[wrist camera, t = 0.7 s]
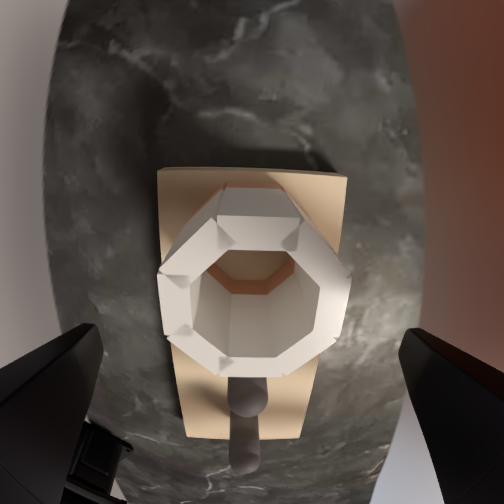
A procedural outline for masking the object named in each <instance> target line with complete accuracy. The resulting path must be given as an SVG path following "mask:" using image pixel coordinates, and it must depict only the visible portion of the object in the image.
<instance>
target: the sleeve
mask: <svg viewBox="0 0 504 504" xmlns="http://www.w3.org/2000/svg"><path fill="white" fill-rule="evenodd" d="M227 250H263V251H287V253H288V254H289V255H290V259H289V261H288V262H286V263H285V264H284V265H283V266H282V267H280V268H279V269H278V270H277V271H276V272H274V273H273V274H272V275H271V276H270V277H268V278H267V279H266V280H232V279H231V278H230V277H229V276H228V275H227V274H226V273H225V272H224V271H223V270H222V269H221V268H219V267H218V266H217V265H216V264H215V263H214V262H215V261H216V260H217V259H218V258H220V257H221V256H222V255H223V254H224V253H225V252H226V251H227ZM350 274H351V273H350V272H349V270H348V269H347V267H346V266H345V265H344V263H343V262H342V260H341V259H340V258H339V256H338V255H337V253H336V252H335V251H334V249H333V248H332V246H331V245H330V244H329V242H328V241H327V240H326V238H325V237H324V236H323V234H322V233H321V231H320V230H319V229H318V227H317V226H316V225H315V223H314V222H313V221H312V219H311V218H310V217H309V216H308V215H307V214H306V213H305V211H304V210H303V209H302V208H301V207H300V206H299V205H298V204H297V202H296V201H295V200H294V199H293V198H292V197H291V196H290V195H289V194H288V192H287V191H286V190H285V189H284V188H283V187H282V186H281V185H280V186H279V185H278V184H277V183H256V182H227V185H226V184H225V183H224V184H223V185H221V186H220V187H219V188H218V189H217V190H216V191H215V192H214V193H213V194H212V195H211V196H210V197H209V198H208V199H207V200H206V201H205V202H204V203H203V204H202V205H201V206H200V207H199V208H198V209H197V210H196V211H195V212H194V213H193V214H192V215H191V216H190V217H189V218H188V220H187V222H186V223H185V225H184V227H183V228H182V230H181V232H180V233H179V235H178V237H177V238H176V240H175V242H174V243H173V245H172V247H171V248H170V250H169V252H168V254H167V255H166V257H165V259H164V261H163V262H162V264H161V266H160V268H159V271H158V273H157V280H158V290H159V299H160V307H161V315H162V322H163V330H164V335H168V336H167V339H168V340H169V341H170V342H171V343H173V344H174V345H175V346H176V347H178V348H179V349H180V350H182V351H183V352H184V353H186V354H187V355H188V356H190V357H191V358H192V359H194V360H195V361H196V362H198V363H199V364H200V365H202V366H203V367H205V368H206V369H207V370H209V371H210V372H212V373H213V374H214V375H216V374H218V373H219V372H220V377H282V374H285V375H286V376H287V375H288V374H290V373H291V372H293V371H295V370H296V369H298V368H299V367H300V366H302V365H303V364H305V363H306V362H308V361H309V360H311V359H312V358H314V357H315V356H317V355H318V354H319V353H321V352H322V351H324V350H325V349H326V348H328V347H329V346H331V345H332V344H333V343H335V342H336V341H337V340H336V337H340V333H341V329H342V324H343V320H344V315H345V311H346V306H347V301H348V296H349V291H350V286H351V281H352V277H351V276H350Z"/></svg>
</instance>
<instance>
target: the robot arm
mask: <svg viewBox="0 0 504 504" xmlns="http://www.w3.org/2000/svg"><path fill="white" fill-rule="evenodd" d="M103 352H104V349H103V344H102V341H101V337H100V333H99V329H98V327H97V326H96V325H95V324H90V323H83V324H81V325H79V326H77V327H75V328H73V329H71V330H70V331H68V332H66V333H64V334H62V335H60V336H58V337H57V338H55V339H53V340H51V341H49V342H48V343H46V344H44V345H42V346H41V347H38V348H37V349H35V350H33V351H31V352H29V353H28V354H26V355H24V356H22V357H21V358H19V359H17V360H15V361H14V362H12V363H10V364H8V365H6V366H4V367H2V368H1V369H0V504H127V501H124V500H120V499H118V498H115V497H113V496H110V492H111V489H112V485H113V482H114V478H115V474H116V471H117V467H118V463H119V462H120V461H121V460H123V459H124V458H125V457H127V456H128V455H130V454H131V453H132V452H133V447H131V446H129V445H128V444H126V443H124V442H122V441H120V440H118V439H116V438H114V437H112V436H110V435H109V434H107V433H105V432H103V431H101V430H100V429H98V428H96V427H94V426H93V425H91V424H89V423H88V422H86V421H84V420H85V417H86V414H87V411H88V408H89V405H90V402H91V399H92V396H93V393H94V389H95V385H96V380H97V376H98V372H99V369H100V365H101V361H102V357H103ZM398 356H399V361H400V364H401V368H402V371H403V375H404V378H405V382H406V386H407V389H408V393H409V396H410V399H411V402H412V405H413V408H414V410H415V413H416V415H417V418H418V421H419V424H420V427H421V429H422V432H423V435H424V438H425V441H426V444H427V447H428V450H429V453H430V456H431V459H432V462H433V466H434V469H435V472H436V475H437V479H438V482H439V486H440V489H441V492H442V496H443V500H444V503H445V504H504V373H503V372H501V371H499V370H498V369H496V368H494V367H492V366H490V365H488V364H487V363H485V362H483V361H481V360H479V359H477V358H475V357H473V356H472V355H470V354H468V353H466V352H464V351H462V350H460V349H459V348H457V347H455V346H453V345H451V344H449V343H447V342H445V341H443V340H442V339H440V338H438V337H436V336H434V335H432V334H430V333H428V332H426V331H425V330H423V329H421V328H409V329H407V330H406V332H405V334H404V337H403V340H402V343H401V345H400V348H399V352H398Z"/></svg>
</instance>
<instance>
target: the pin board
mask: <svg viewBox="0 0 504 504" xmlns="http://www.w3.org/2000/svg"><path fill="white" fill-rule="evenodd" d="M227 182H256V183H277V184H278V185H279V186H280V185H281V186H282V187H283V188H284V189H285V190H286V191H287V192H288V194H289V195H290V196H291V197H292V198H293V199H294V200H295V201H296V202H297V204H298V205H299V206H300V207H301V208H302V209H303V210H304V211H305V213H306V214H307V215H308V216H309V217H310V218H311V219H312V221H313V222H314V223H315V225H316V226H317V227H318V229H319V230H320V231H321V233H322V234H323V236H324V237H325V238H326V240H327V241H328V242H329V244H330V245H331V246H332V248H333V249H334V251H335V252H336V253H337V255H338V250H339V243H340V235H341V228H342V220H343V211H344V203H345V194H346V184H347V177H345V176H343V175H341V174H339V173H331V172H319V171H305V170H289V169H270V168H242V167H164V168H162V169H160V170H158V171H157V186H158V213H159V231H160V247H161V260H162V262H163V261H164V259H165V257H166V255H167V254H168V252H169V250H170V248H171V247H172V245H173V243H174V242H175V240H176V238H177V237H178V235H179V233H180V232H181V230H182V228H183V227H184V225H185V223H186V222H187V220H188V218H189V217H190V216H191V215H192V214H193V213H194V212H195V211H196V210H197V209H198V208H199V207H200V206H201V205H202V204H203V203H204V202H205V201H206V200H207V199H208V198H209V197H210V196H211V195H212V194H213V193H214V192H215V191H216V190H217V189H218V188H219V187H220V186H221V185H223V184H224V183H225V184H226V185H227ZM289 259H290V255H289V254H288V253H287V251H263V250H227V251H226V252H225V253H224V254H223V255H222V256H221V257H220V258H218V259H217V260H216V261H215V262H214V263H215V264H216V265H217V266H218V267H219V268H221V269H222V270H223V271H224V272H225V273H226V274H227V275H228V276H229V277H230V278H231V279H232V280H266V279H267V278H268V277H270V276H271V275H272V274H273V273H274V272H276V271H277V270H278V269H279V268H280V267H282V266H283V265H284V264H285V263H286V262H288V261H289ZM171 350H172V356H173V363H174V369H175V376H176V382H177V387H178V393H179V399H180V404H181V409H182V415H183V420H184V425H185V430H186V434H187V437H197V438H213V439H229V463H230V465H231V467H232V468H233V469H234V470H235V471H237V472H239V473H244V474H246V473H251V472H253V471H255V470H256V469H257V468H258V466H259V465H260V461H261V458H260V441H259V439H287V438H299V436H300V433H301V429H302V425H303V422H304V418H305V414H306V410H307V406H308V402H309V398H310V394H311V390H312V386H313V382H314V378H315V373H316V369H317V364H318V360H319V355H320V353H319V354H318V355H317V356H315V357H314V358H312V359H311V360H309V361H308V362H306V363H305V364H303V365H302V366H300V367H299V368H298V369H296V370H295V371H293V372H291V373H290V374H288V375H287V376H286V375H285V374H282V377H220V372H219V373H218V374H216V375H214V374H213V373H212V372H210V371H209V370H207V369H206V368H205V367H203V366H202V365H200V364H199V363H198V362H196V361H195V360H194V359H192V358H191V357H190V356H188V355H187V354H186V353H184V352H183V351H182V350H180V349H179V348H178V347H176V346H175V345H174V344H173V343H171Z"/></svg>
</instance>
